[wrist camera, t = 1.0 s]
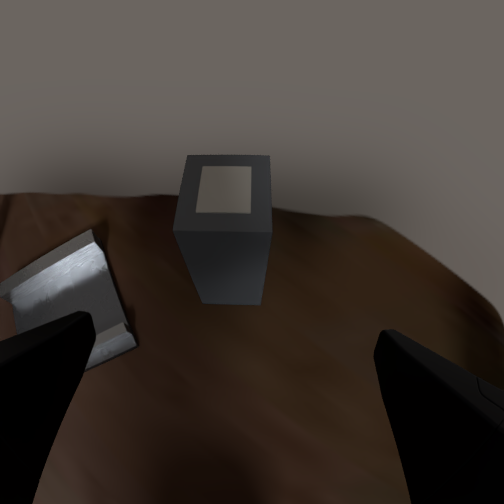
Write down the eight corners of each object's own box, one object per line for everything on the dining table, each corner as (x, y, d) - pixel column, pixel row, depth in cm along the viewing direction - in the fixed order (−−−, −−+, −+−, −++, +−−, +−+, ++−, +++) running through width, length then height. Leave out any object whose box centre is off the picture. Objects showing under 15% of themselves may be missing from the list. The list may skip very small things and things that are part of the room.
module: (260, 305, 23) (272, 230, 13) (202, 303, 23) (172, 229, 13) (260, 248, 25) (269, 153, 16) (207, 247, 25) (187, 153, 16)
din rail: (139, 346, 21) (127, 340, 19) (35, 393, 18) (18, 390, 16) (101, 241, 25) (90, 226, 23) (13, 291, 22) (-1, 281, 20)
